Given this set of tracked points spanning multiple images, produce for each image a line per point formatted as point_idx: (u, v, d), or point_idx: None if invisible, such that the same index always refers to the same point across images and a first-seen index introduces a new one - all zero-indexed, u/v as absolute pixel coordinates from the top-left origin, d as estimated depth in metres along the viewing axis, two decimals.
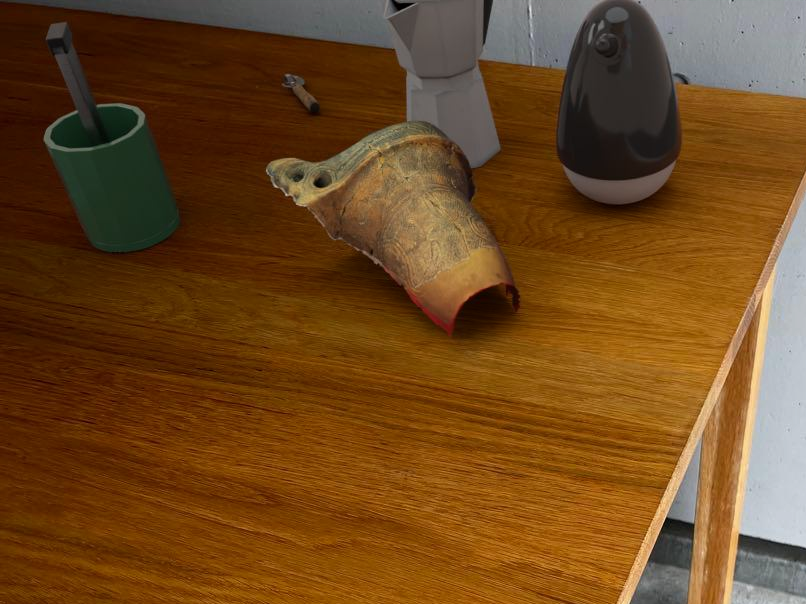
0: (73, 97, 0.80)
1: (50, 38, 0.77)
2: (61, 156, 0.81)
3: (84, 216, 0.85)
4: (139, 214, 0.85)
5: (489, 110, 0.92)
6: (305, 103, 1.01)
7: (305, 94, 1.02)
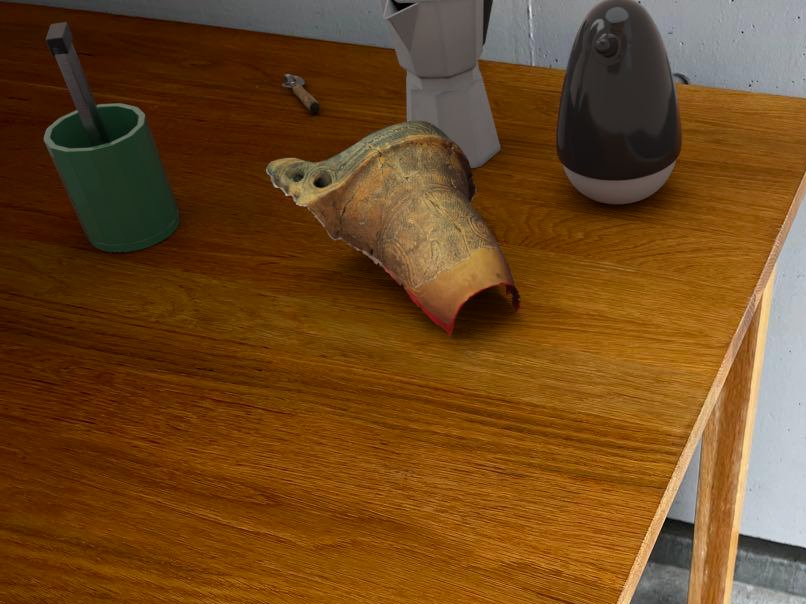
0: (73, 97, 0.80)
1: (50, 38, 0.77)
2: (61, 156, 0.81)
3: (84, 216, 0.85)
4: (139, 214, 0.85)
5: (489, 110, 0.92)
6: (305, 103, 1.01)
7: (305, 94, 1.02)
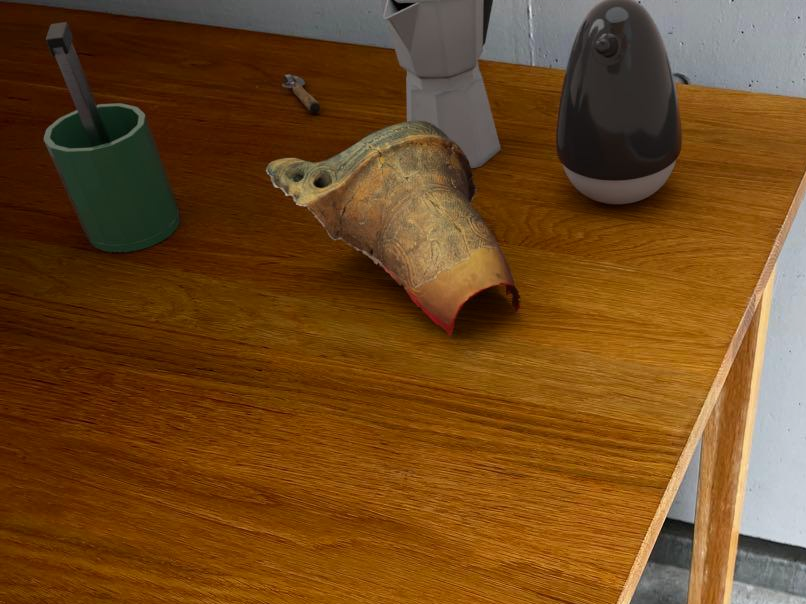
0: (73, 97, 0.80)
1: (50, 38, 0.77)
2: (61, 156, 0.81)
3: (84, 216, 0.85)
4: (139, 214, 0.85)
5: (489, 110, 0.92)
6: (305, 103, 1.01)
7: (305, 95, 1.02)
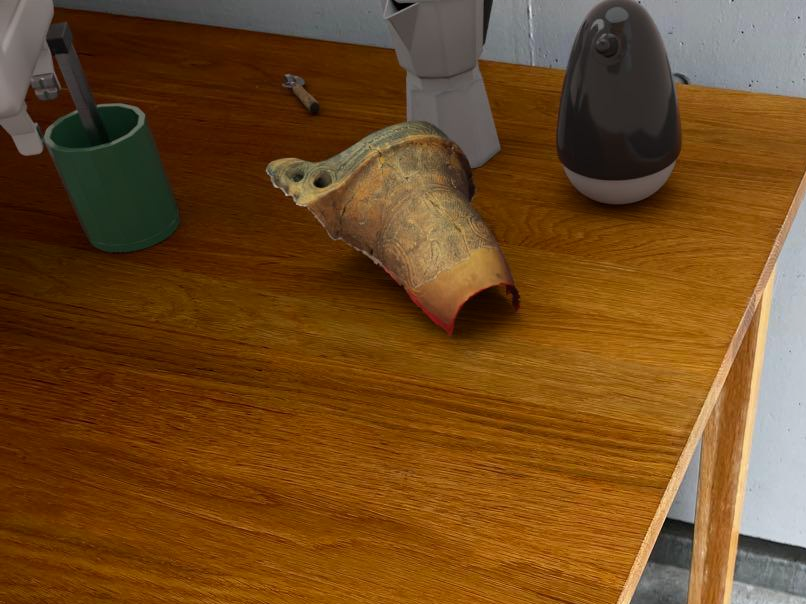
0: (73, 97, 0.80)
1: (50, 38, 0.77)
2: (61, 156, 0.81)
3: (84, 216, 0.85)
4: (139, 214, 0.85)
5: (489, 110, 0.92)
6: (305, 103, 1.01)
7: (305, 94, 1.02)
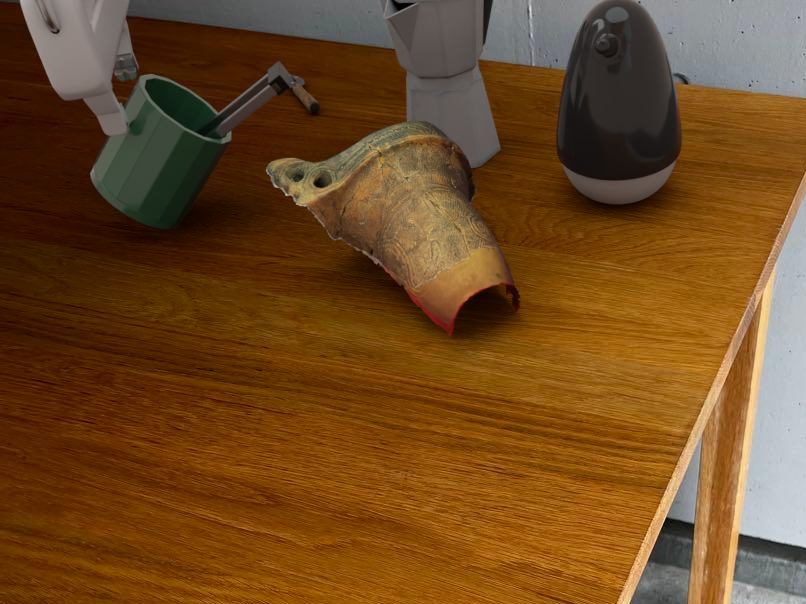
0: (240, 111, 0.83)
1: (282, 77, 0.82)
2: (151, 113, 0.81)
3: (118, 164, 0.83)
4: (170, 199, 0.85)
5: (489, 110, 0.92)
6: (305, 103, 1.01)
7: (305, 94, 1.02)
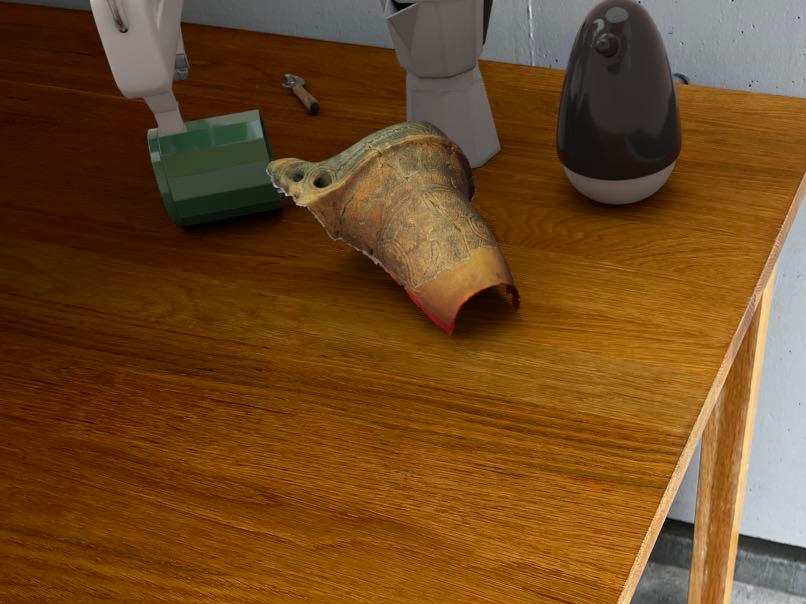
0: None
1: None
2: (259, 150, 0.84)
3: (192, 157, 0.84)
4: (207, 212, 0.86)
5: (489, 110, 0.92)
6: (305, 103, 1.01)
7: (305, 94, 1.02)
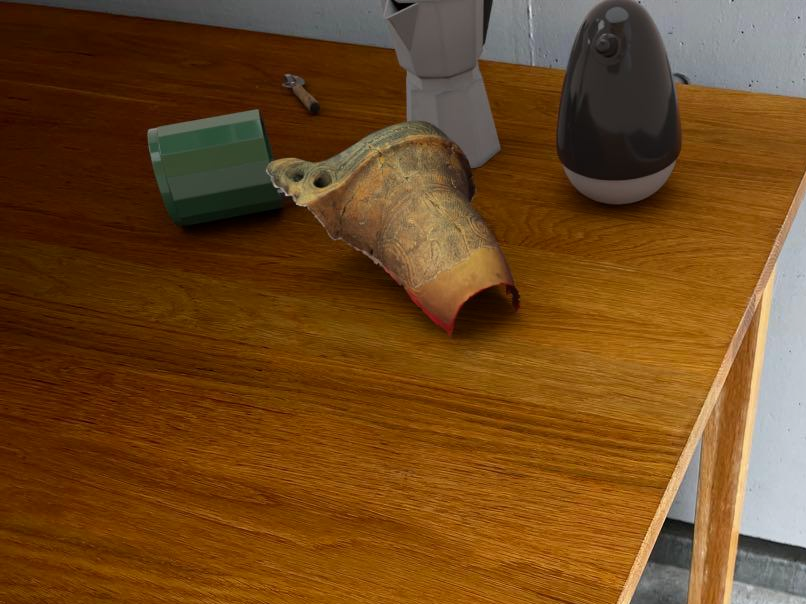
0: None
1: None
2: (259, 149, 0.84)
3: (191, 156, 0.84)
4: (207, 211, 0.86)
5: (489, 110, 0.92)
6: (305, 103, 1.01)
7: (306, 94, 1.02)
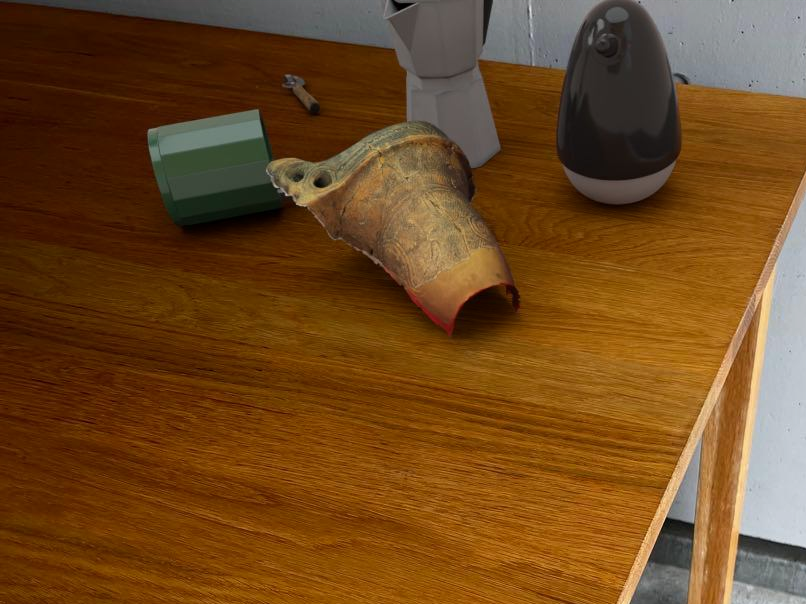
0: None
1: None
2: (259, 149, 0.84)
3: (191, 156, 0.84)
4: (207, 211, 0.86)
5: (489, 110, 0.92)
6: (305, 103, 1.01)
7: (306, 95, 1.02)
